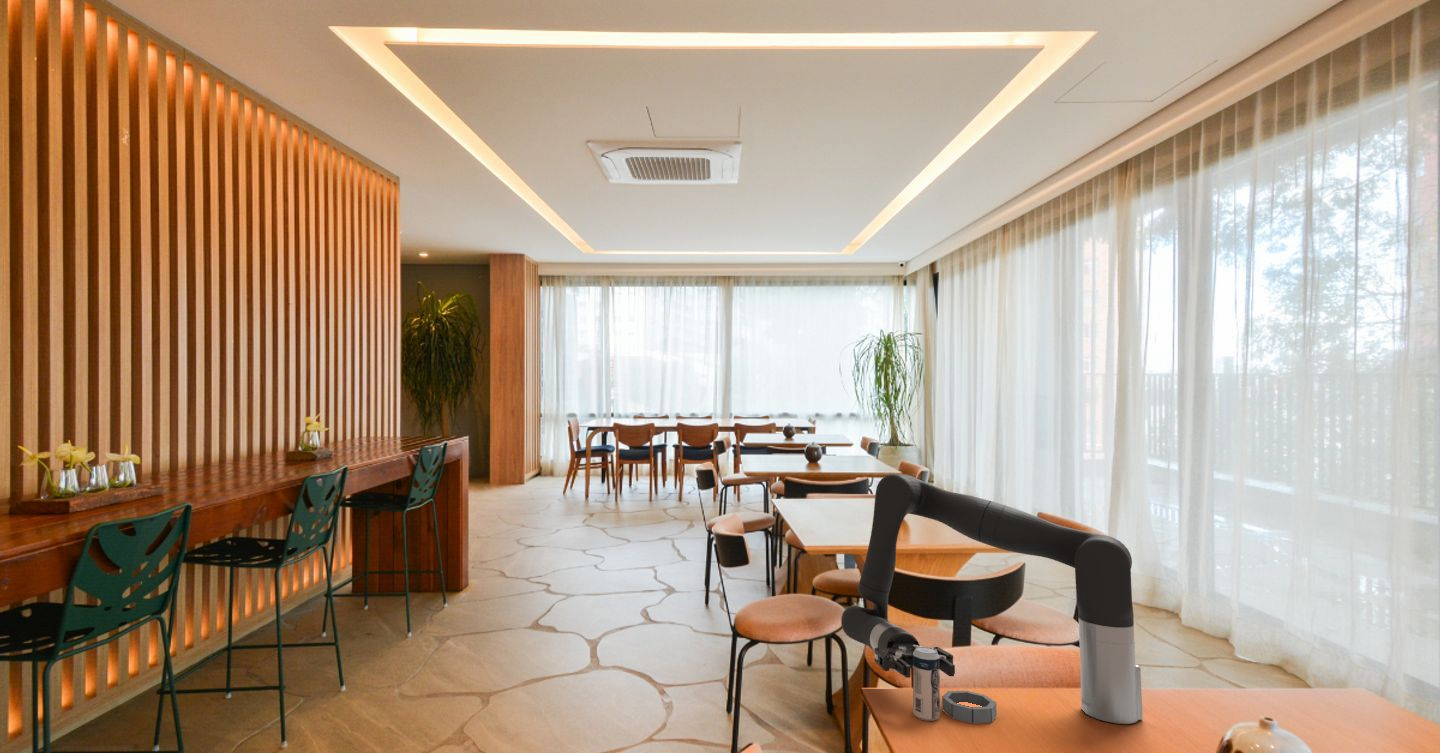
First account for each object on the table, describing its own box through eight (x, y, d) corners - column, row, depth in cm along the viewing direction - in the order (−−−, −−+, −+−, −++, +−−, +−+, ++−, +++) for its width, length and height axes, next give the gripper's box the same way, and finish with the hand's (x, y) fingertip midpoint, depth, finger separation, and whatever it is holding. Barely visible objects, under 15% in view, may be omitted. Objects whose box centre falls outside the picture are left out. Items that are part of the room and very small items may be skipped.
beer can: (941, 723, 118) (941, 655, 119) (914, 720, 118) (914, 652, 120) (938, 713, 122) (937, 647, 123) (911, 710, 123) (911, 644, 124)
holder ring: (978, 703, 128) (978, 690, 128) (1005, 722, 119) (1004, 708, 119) (935, 704, 126) (935, 691, 127) (959, 724, 117) (959, 709, 118)
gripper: (861, 626, 135) (894, 651, 119) (925, 625, 137) (966, 649, 121) (861, 664, 134) (894, 694, 118) (926, 662, 136) (967, 691, 120)
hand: (930, 671), depth 119 cm, fingers open, 8 cm apart
